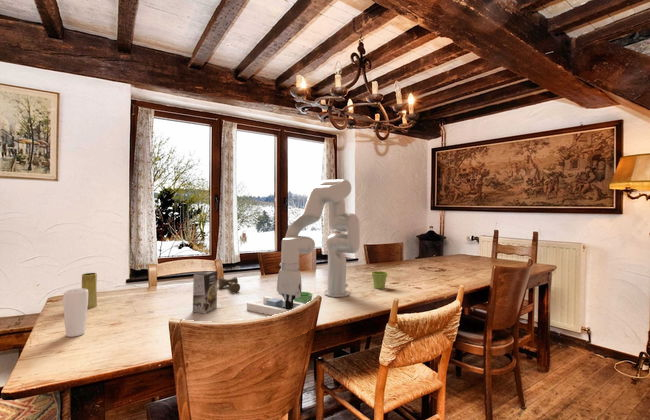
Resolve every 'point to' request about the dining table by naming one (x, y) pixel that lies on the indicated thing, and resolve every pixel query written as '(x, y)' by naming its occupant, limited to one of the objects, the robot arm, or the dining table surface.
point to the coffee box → (205, 291)
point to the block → (275, 302)
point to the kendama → (230, 284)
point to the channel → (270, 307)
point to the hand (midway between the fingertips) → (289, 309)
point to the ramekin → (304, 297)
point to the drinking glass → (75, 311)
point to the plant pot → (379, 279)
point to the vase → (90, 288)
